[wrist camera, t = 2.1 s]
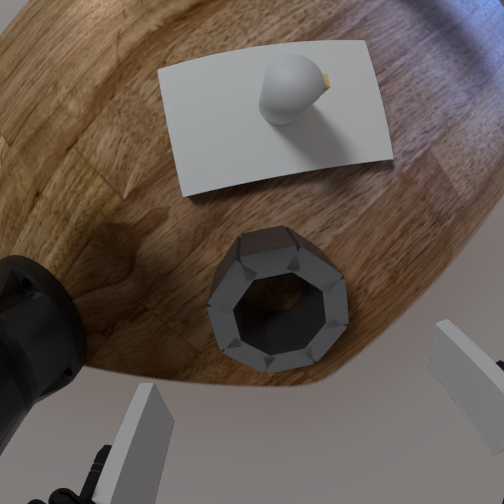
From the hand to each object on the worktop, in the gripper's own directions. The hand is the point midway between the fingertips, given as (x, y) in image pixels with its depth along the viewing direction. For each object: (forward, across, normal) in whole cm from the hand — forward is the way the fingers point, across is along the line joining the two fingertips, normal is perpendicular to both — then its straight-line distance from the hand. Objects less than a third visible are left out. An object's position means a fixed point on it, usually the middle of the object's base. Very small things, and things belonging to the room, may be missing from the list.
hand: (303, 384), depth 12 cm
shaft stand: (+12, +3, +13) cm, 18 cm away
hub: (+12, 0, 0) cm, 12 cm away
